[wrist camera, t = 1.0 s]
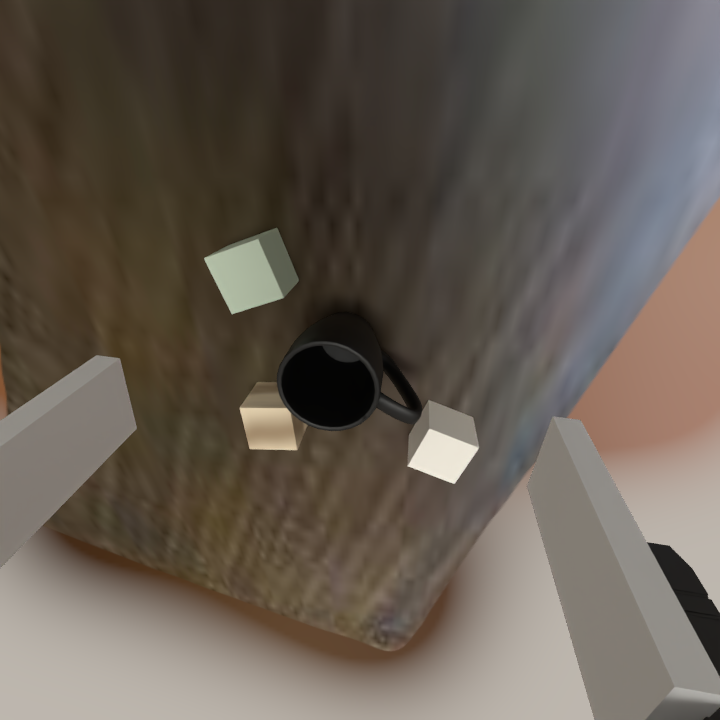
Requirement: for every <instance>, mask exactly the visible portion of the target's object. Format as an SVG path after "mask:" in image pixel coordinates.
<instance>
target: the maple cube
mask: <svg viewBox="0 0 720 720" xmlns="http://www.w3.org/2000/svg"><path fill="white" fill-rule="evenodd" d="M240 411H241V415H242V419H243V423H244V427H245V431H246V435H247V440H248V444H249V448H250V449H271V450H298V447H299V445H300V442H301V440H302V437H303V435H304V432H305V430H306V427H307V424H305V423H303V422H302V421H300V420H298V419H297V418H296V417H295V416H294V415H292V414H291V413H290V411H289V410H288V409H287V408H286V407H285V405H284V404H283V402H282V400H281V398H280V396H279V392H278V388H277V382H257V383H256V385H255V386H254V388H253V389H252V391H251V392H250V393H249V395H248V396H247V398H246V399H245V401H244V402H243V404H242V405H241V407H240Z"/></svg>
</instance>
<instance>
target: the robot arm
mask: <svg viewBox="0 0 720 720" xmlns="http://www.w3.org/2000/svg"><path fill="white" fill-rule="evenodd" d="M136 429H137V427H136V423H135V419H134V415H133V411H132V407H131V403H130V399H129V395H128V390H127V386H126V382H125V378H124V374H123V370H122V366H121V362H120V358H113V357H105V356H98V355H96V356H95V357H94V358H92V359H91V360H89V361H88V362H86V363H85V364H83V365H82V366H80V367H79V368H77V369H76V370H74V371H73V372H71V373H70V374H69V375H67V376H66V377H64V378H63V379H61V380H60V381H58V382H57V383H55V384H54V385H52V386H51V387H49V388H48V389H46V390H45V391H44V392H42V393H41V394H39V395H38V396H36V397H35V398H33V399H32V400H30V401H29V402H27V403H26V404H24V405H23V406H21V407H20V408H18V409H17V410H16V411H14V412H13V413H11V414H10V415H8V416H7V417H5V418H4V419H2V420H1V421H0V568H1V567H2V566H3V565H4V564H5V563H6V562H7V561H8V560H9V559H10V558H11V557H12V556H13V555H14V554H15V553H16V552H17V551H18V550H19V549H20V548H21V547H22V546H23V545H24V544H25V542H27V541H28V540H29V539H30V538H31V537H32V535H33V534H34V533H35V532H36V531H37V530H38V529H39V528H40V527H41V526H42V525H43V524H44V523H45V522H46V521H47V520H48V519H49V518H50V517H51V516H52V515H53V514H54V513H55V512H56V511H57V510H58V509H59V508H60V507H61V506H62V505H63V504H64V503H65V502H66V501H67V500H68V499H69V497H70V496H71V495H72V494H73V493H74V492H75V491H76V490H77V489H78V488H79V487H80V486H81V485H82V484H83V483H84V482H85V481H86V480H87V479H88V478H89V477H90V476H91V475H92V474H93V473H94V472H95V471H96V470H97V469H98V468H99V467H100V466H101V465H102V464H103V463H104V462H105V460H106V459H107V458H108V457H109V456H110V455H111V454H112V453H113V452H114V451H115V450H116V449H117V448H118V447H119V446H120V445H121V444H122V443H123V442H124V441H125V440H126V439H127V438H128V437H129V436H130V435H131V434H132V433H133V432H134V431H135V430H136ZM527 488H528V491H529V495H530V498H531V501H532V505H533V509H534V512H535V515H536V519H537V523H538V526H539V529H540V533H541V536H542V540H543V543H544V547H545V550H546V554H547V557H548V560H549V564H550V567H551V571H552V574H553V578H554V581H555V585H556V588H557V592H558V595H559V599H560V602H561V605H562V609H563V612H564V616H565V619H566V623H567V626H568V629H569V633H570V637H571V639H572V643H573V647H574V650H575V654H576V657H577V661H578V664H579V668H580V671H581V675H582V678H583V681H584V685H585V688H586V692H587V695H588V699H589V702H590V706H591V709H592V713H593V716H594V719H595V720H720V613H719V612H718V610H717V608H716V607H715V605H714V603H713V602H712V600H710V599H708V594H707V592H706V590H705V589H704V587H703V585H702V584H701V582H700V581H699V579H698V577H697V576H696V574H695V572H694V571H693V569H692V568H691V567H690V566H689V565H688V564H687V563H686V562H685V561H684V560H683V559H682V558H681V557H680V556H679V555H678V554H677V553H676V552H675V551H674V550H673V549H672V548H671V547H670V546H667V545H661V544H654V543H648V542H646V540H645V538H644V536H643V535H642V533H641V531H640V529H639V527H638V525H637V523H636V522H635V520H634V518H633V516H632V514H631V512H630V511H629V509H628V507H627V505H626V503H625V501H624V499H623V498H622V496H621V494H620V492H619V490H618V488H617V487H616V485H615V483H614V481H613V479H612V477H611V475H610V474H609V472H608V470H607V468H606V466H605V464H604V463H603V461H602V459H601V457H600V455H599V453H598V452H597V450H596V448H595V446H594V444H593V442H592V440H591V439H590V437H589V435H588V433H587V431H586V429H585V427H584V426H583V424H582V422H581V420H576V419H569V418H561V417H554V416H553V417H552V420H551V422H550V425H549V428H548V431H547V433H546V436H545V439H544V441H543V444H542V447H541V450H540V452H539V455H538V458H537V460H536V463H535V466H534V469H533V471H532V474H531V477H530V480H529V482H528V485H527Z"/></svg>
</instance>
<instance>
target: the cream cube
mask: <svg viewBox="0 0 720 720" xmlns="http://www.w3.org/2000/svg"><path fill="white" fill-rule="evenodd" d="M478 449H479V445H478V440H477V435H476V430H475V424H474V419H473V417H471V416H469V415H466V414H463V413H461V412H458V411H456V410H453V409H451V408H448V407H446V406H443V405H441V404H438V403H435V402H433V401H430V400H428V402H427V404H426V405H425V407H424V409H423V411H422V414H421V417H420V419H419V420H418V422H417V423H415V425H414V427H413V429H412V430H411V432H410V434H409V445H408V466H409V467H411V468H414V469H417V470H419V471H422V472H424V473H427V474H430V475H432V476H435V477H437V478H440V479H443V480H445V481H448V482H450V483H453V484H455V482H456V481H457V480H458V478H459V477H460V475H461V474H462V472H463V471H464V469H465V468H466V466H467V465H468V463H469V462H470V460H471V459H472V458H473V456H474V455H475V453H476V452H477V450H478Z"/></svg>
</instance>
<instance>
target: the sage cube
mask: <svg viewBox="0 0 720 720" xmlns="http://www.w3.org/2000/svg"><path fill="white" fill-rule="evenodd" d="M204 260H205V262H206V264H207V266H208V268H209V270H210V272H211V274H212V276H213V278H214V280H215V282H216V284H217V286H218V288H219V290H220V292H221V294H222V296H223V298H224V300H225V301H226V303H227V305H228V307H229V309H230V311H231V313H232V314H234V313H237V312H241V311H244V310H247V309H250V308H253V307H256V306H260V305H263V304H266V303H269V302H272V301H276V300H279V299H282V298H284V297H285V296H286V295H287V294H288V293H289V292H290V290H291V289H292V288H293V287H294V286H295V285H296V284H297V282H298V281H299V279H298V277H297V274H296V272H295V269H294V267H293V265H292V262H291V260H290V257H289V255H288V253H287V250H286V248H285V245H284V243H283V241H282V238H281V236H280V233H279V231H278V228H275V229H272V230H269V231H266V232H264V233H261V234H258V235H255V236H253V237H250V238H247V239H244V240H242V241H239V242H236V243H233V244H231V245H228V246H226V247H224V248H222V249H221V250H219V251H217V252H215V253H213V254H211V255H209V256H207V257H205V258H204Z"/></svg>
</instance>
